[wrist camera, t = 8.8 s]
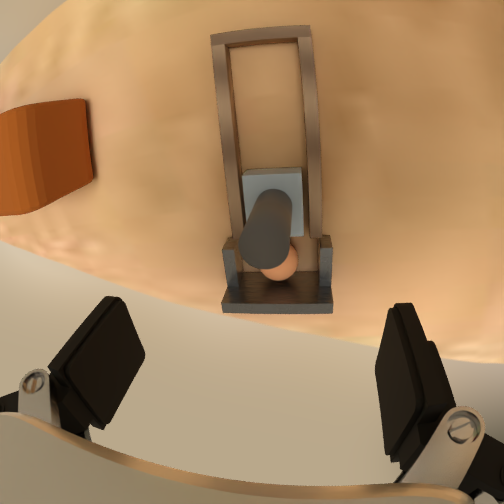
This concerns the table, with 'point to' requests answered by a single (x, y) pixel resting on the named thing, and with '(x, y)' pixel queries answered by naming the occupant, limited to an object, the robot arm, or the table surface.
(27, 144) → the alarm clock
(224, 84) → the frame
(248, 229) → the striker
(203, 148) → the table surface
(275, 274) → the ball
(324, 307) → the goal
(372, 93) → the table surface
